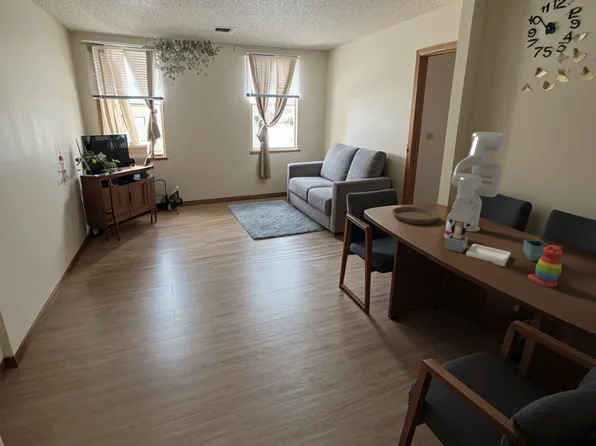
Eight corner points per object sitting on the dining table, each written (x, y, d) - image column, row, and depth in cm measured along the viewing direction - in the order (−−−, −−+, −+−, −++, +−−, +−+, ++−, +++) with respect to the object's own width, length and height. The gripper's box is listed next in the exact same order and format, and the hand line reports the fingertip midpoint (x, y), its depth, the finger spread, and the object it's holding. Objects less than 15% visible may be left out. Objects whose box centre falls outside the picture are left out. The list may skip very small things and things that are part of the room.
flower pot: (519, 255, 190) (523, 239, 187) (536, 255, 189) (540, 240, 186) (529, 262, 181) (533, 246, 178) (547, 263, 181) (551, 246, 178)
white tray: (472, 247, 198) (473, 243, 197) (509, 256, 188) (510, 252, 187) (465, 256, 187) (466, 252, 186) (504, 266, 176) (505, 261, 176)
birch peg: (452, 243, 198) (456, 219, 193) (461, 245, 196) (465, 221, 191) (450, 246, 195) (454, 221, 190) (458, 248, 192) (463, 223, 188)
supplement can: (460, 242, 206) (465, 217, 201) (445, 240, 207) (449, 216, 202) (457, 237, 213) (461, 212, 208) (443, 235, 215) (446, 211, 210)
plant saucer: (396, 209, 266) (397, 203, 264) (441, 215, 253) (442, 209, 252) (387, 221, 239) (387, 214, 238) (436, 229, 227) (437, 222, 225)
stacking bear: (549, 277, 166) (559, 241, 161) (563, 288, 157) (575, 250, 151) (525, 276, 167) (534, 240, 161) (538, 287, 157) (548, 249, 151)
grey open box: (449, 244, 202) (450, 233, 199) (466, 248, 196) (468, 237, 194) (444, 249, 195) (446, 237, 193) (461, 254, 190) (463, 242, 187)
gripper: (483, 201, 185) (476, 234, 191) (449, 196, 194) (444, 227, 200) (479, 205, 179) (473, 239, 185) (444, 198, 189) (439, 231, 195)
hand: (458, 232), depth 193 cm, fingers closed on birch peg, 4 cm apart
